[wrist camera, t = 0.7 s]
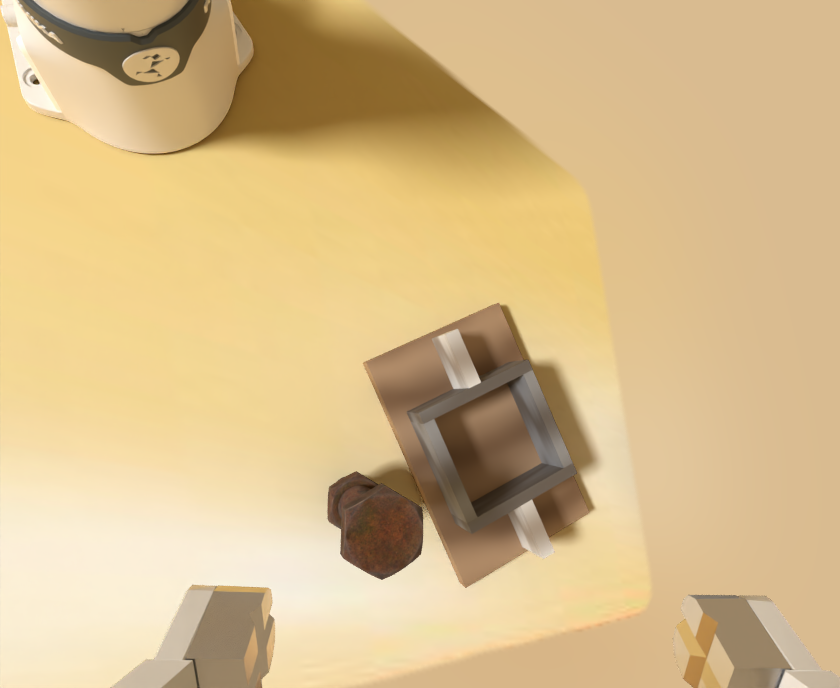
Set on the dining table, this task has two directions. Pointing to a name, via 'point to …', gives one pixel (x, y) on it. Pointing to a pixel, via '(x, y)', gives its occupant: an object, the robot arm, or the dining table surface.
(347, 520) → the bolt
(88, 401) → the dining table surface
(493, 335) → the square frame on board
